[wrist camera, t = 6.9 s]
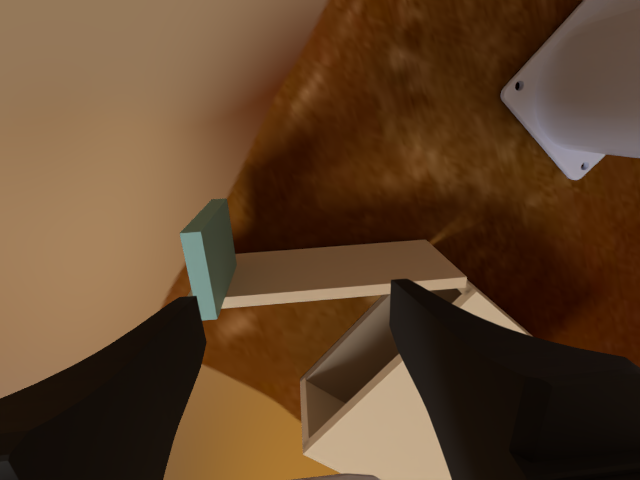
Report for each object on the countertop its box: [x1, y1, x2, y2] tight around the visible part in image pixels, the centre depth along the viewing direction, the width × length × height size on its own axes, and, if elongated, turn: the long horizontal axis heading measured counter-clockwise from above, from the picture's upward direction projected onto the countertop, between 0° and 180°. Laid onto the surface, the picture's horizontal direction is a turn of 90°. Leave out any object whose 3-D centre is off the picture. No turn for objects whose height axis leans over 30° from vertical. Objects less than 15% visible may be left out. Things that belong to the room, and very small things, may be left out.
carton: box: [300, 280, 533, 480], centre depth 23 cm, size 14×12×6 cm
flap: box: [180, 199, 467, 320], centre depth 17 cm, size 14×5×7 cm, turn 93°
